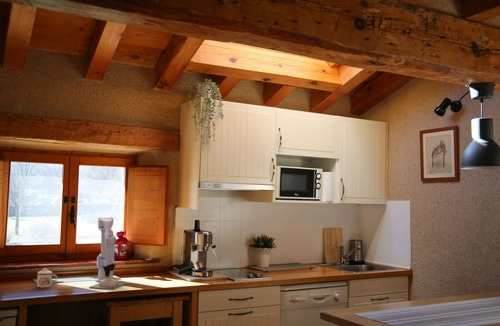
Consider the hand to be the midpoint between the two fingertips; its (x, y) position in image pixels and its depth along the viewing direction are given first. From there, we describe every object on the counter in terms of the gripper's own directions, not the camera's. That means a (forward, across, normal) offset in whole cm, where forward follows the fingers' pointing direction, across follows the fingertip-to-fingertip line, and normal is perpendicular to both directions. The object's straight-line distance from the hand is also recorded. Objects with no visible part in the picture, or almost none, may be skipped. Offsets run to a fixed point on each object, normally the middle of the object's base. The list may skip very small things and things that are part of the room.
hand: (108, 275), depth 326 cm
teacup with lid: (+7, +10, -37) cm, 39 cm away
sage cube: (+2, 0, 0) cm, 2 cm away
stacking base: (+7, 0, 0) cm, 7 cm away
